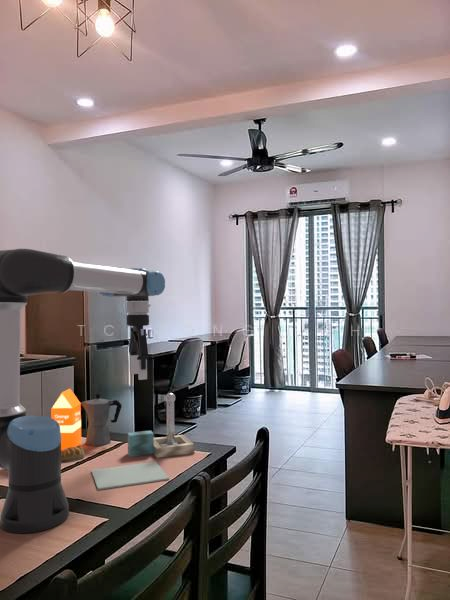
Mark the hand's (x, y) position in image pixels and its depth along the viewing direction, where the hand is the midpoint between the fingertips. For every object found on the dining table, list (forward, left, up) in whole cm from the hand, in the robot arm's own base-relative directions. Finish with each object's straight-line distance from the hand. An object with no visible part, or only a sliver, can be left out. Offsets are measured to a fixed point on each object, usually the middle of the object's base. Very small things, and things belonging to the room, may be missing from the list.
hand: (138, 376), depth 165 cm
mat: (-7, -20, -26) cm, 33 cm away
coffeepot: (-10, +19, -26) cm, 34 cm away
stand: (+11, 0, -26) cm, 28 cm away
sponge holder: (+7, 0, -26) cm, 27 cm away
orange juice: (-22, +19, -26) cm, 39 cm away
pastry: (-22, +5, -27) cm, 35 cm away
